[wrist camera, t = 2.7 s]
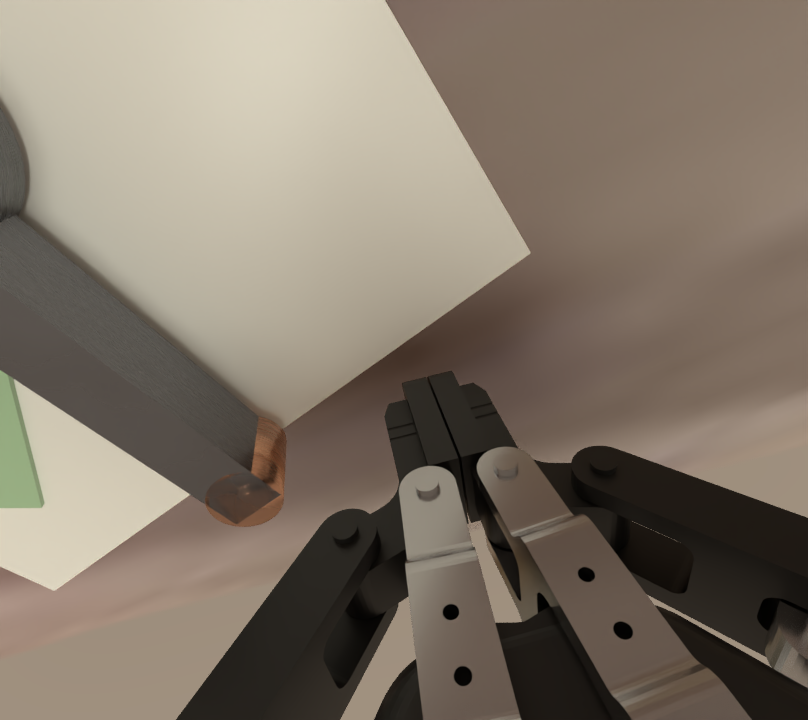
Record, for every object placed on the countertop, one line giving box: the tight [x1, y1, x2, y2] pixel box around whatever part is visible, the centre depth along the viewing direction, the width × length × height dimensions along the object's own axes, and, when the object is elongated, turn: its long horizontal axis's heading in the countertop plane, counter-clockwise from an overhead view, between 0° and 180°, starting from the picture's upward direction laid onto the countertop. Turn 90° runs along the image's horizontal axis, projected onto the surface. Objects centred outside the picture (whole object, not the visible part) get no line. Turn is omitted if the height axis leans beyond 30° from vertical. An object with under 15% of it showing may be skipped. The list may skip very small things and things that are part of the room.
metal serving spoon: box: [0, 108, 287, 527], centre depth 11 cm, size 14×5×3 cm, turn 35°
